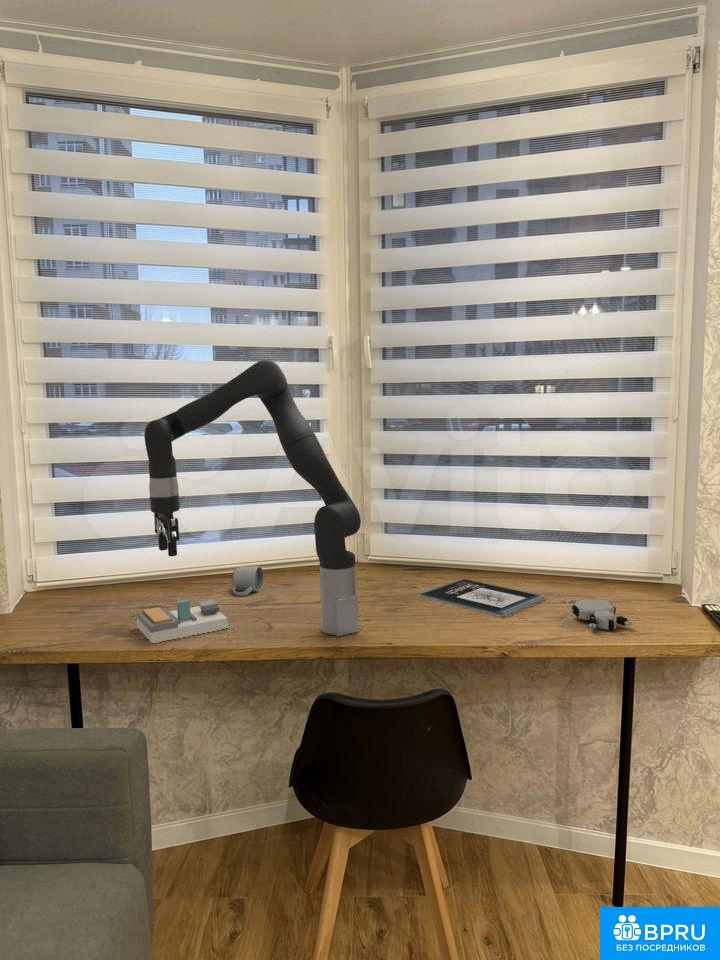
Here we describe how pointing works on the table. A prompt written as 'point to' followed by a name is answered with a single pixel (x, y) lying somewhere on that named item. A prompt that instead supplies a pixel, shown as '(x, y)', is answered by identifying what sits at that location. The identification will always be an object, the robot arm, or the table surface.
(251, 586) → the ceramic mug
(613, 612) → the robot toy
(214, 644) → the table surface
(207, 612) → the rocker switch
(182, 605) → the slide switch
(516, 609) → the sketchbook
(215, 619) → the switch panel
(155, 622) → the paddle button
